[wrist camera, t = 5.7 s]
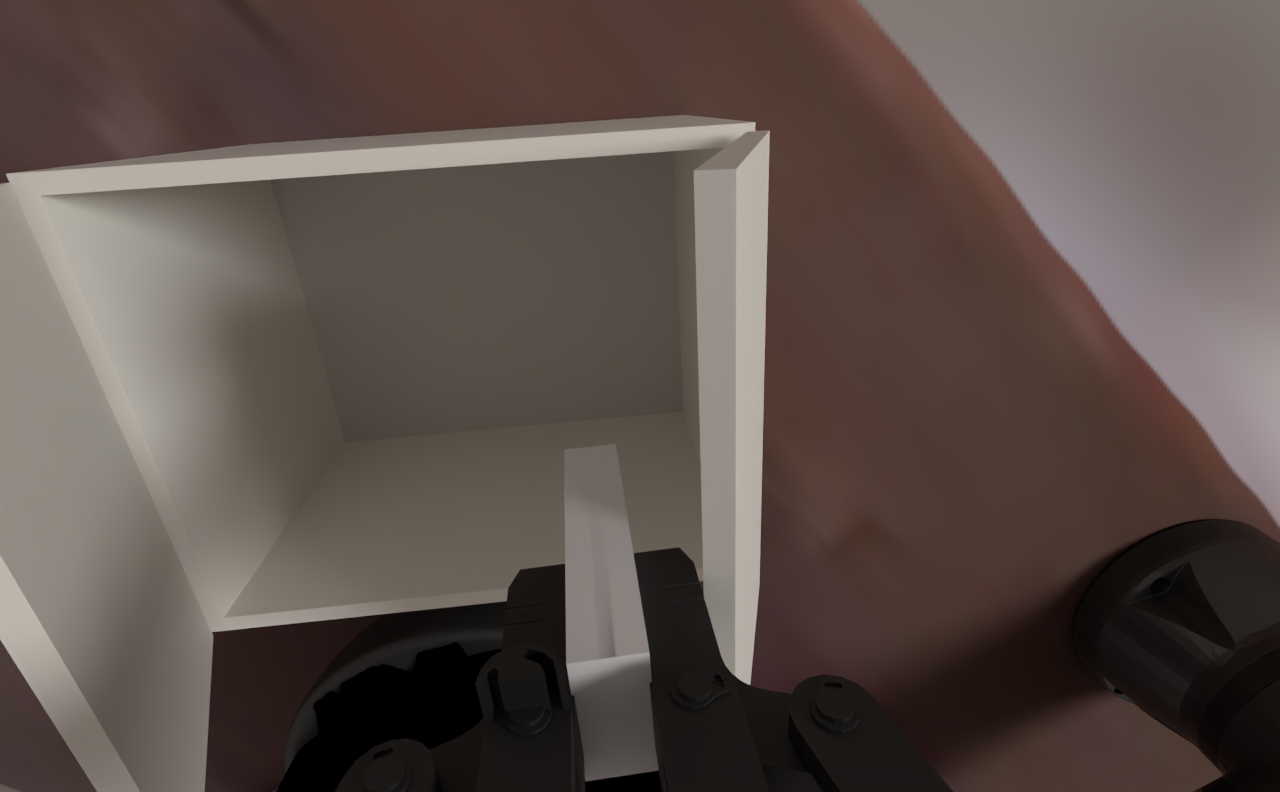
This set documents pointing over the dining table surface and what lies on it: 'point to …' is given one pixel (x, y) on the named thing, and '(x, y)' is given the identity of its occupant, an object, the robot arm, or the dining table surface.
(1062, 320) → the dining table surface
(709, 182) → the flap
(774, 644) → the dining table surface
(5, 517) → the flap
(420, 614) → the bowl of black rocks
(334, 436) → the carton
